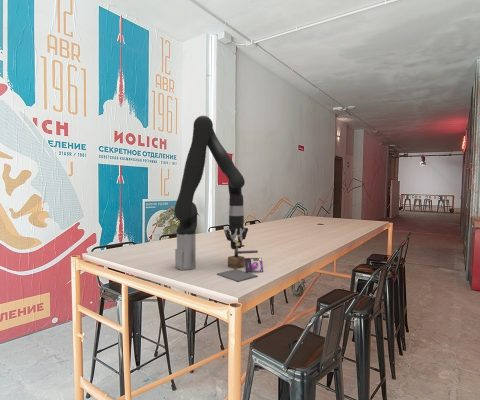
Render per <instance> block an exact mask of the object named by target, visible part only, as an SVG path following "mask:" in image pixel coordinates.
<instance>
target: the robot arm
mask: <svg viewBox="0 0 480 400" xmlns="http://www.w3.org/2000/svg"><path fill="white" fill-rule="evenodd" d="M192 127H193V128H192V129H193V130H192V138H191V144H190V148H189V149H188V153H187V156H186V159H185V163H184V164H185V165H184V169H183V173H182V174H183V175H182V179H181V184H180V188H179V193H178V196H177V199H176V202H175V205H174V210H173V211H174V212H173V213H174V217H175V218H176V219H177V220H178V221H179V224H178V226H177V229H176V248H175V249H174V251H175V256H174V257H175V259H174V260H175V261H174V262H175V264H174V265H175V266H174V267H175V269H177V270H180V271H188V270H189V271H190V270H194V269H196V267H197V265H196V264H197V261H196V260H197V258H196V257H197V256H196V251H197V250H196V249H197V247H196V246H197V244H196V243H197V242H196V239H197V236H196V235H197V233H196V230H197V228H198V227H197V225H198V209H197V206H196V204H195V203H194V202H193V200H194V198H195V197H194V196H195V193H196V191H197V189H198V187H199V184H200V183H201V180H202V179H203V175H204V170H205V166H206V165H205V164H206V157H207V156H206V155H207V148H208V149H209V151H210V153H211V154H212V157H213V158H214V161H215V162H216V164H217V165H218V167H219V169H220V171H221V172H222V173H223V174H224V175H225V176H226V177H227V179H228V180H227V181H228V183H227V184H228V185H227V186H228V187H227V188H228V193H229V197H228V199H229V202H228V203H229V205H228V206H229V207H228V225H229V226H228V228H227V229H224V230H223V231H224V234H225V237H226V240H227V241H230V249H232V250H235V240H236V239H237V241H238V242H240V246H238V249H242V247H243V246H242V245H243V240H245V239H246V237H247V234H248V231H249V228H247V227H245V226H244V224H245V208H244V195H243V193H242V188H243V187H244V186H245V179H244V175H242V173H241V172H240V171H239V169H238V168H237V167H236V165H235V163H234V162H233V160H232V158H231V157H230V155H229V153H228V152H227V150H226V149H225V148H224V146H223V145H222V144H221V142H220V140H219V138H218V137H217V135H216V132H215V130H214V124H213V120H212V119H211V118H210V117H209V116H207V115H199V116H198V117H197V118H195V119H194V122H193V126H192Z"/></svg>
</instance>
